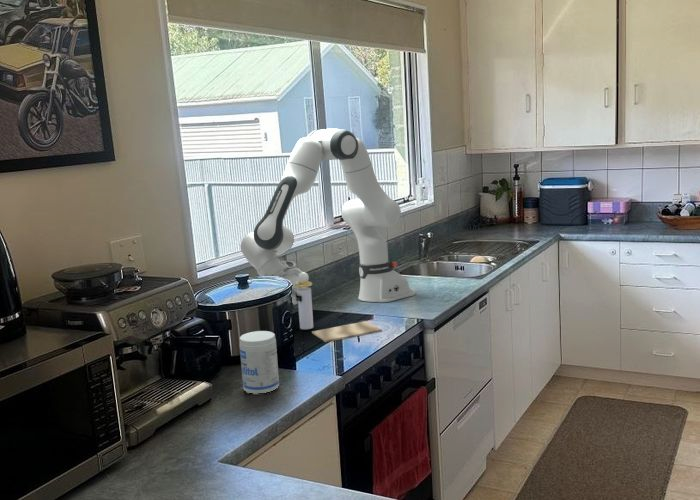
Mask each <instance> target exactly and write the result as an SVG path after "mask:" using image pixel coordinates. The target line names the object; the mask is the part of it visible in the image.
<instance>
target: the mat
mask: <svg viewBox="0 0 700 500" xmlns="http://www.w3.org/2000/svg"><path fill="white" fill-rule="evenodd" d="M382 331H383V329H381V328H380V327H378V326H376V325H374V324H373V323H371V322H369V321H367V320H365V321H364V320H363V321H359V322H356V323H355V322H353V323H349V324H344V325H338V326H334V327H328V328H322V329H318V330H312V331H311V334H312V335H314V336H316V337H317V339H318V338H319V339H320V340H322V342H324V343H330V342H335V341H340V340H344V339H350V338H354V337H355V338H356V337H359V336H364V335H370V334H374V333H378V332H382Z"/></svg>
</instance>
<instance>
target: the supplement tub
mask: <svg viewBox="0 0 700 500" xmlns="http://www.w3.org/2000/svg"><path fill="white" fill-rule="evenodd" d="M277 348H278V347H277V339H276V334H275V333H274V332H272V331H268V330H255V331H251V332H250V331H249V332H247V333H244V334H241V336H239V354H240V366H241V377H242V378H241V379H242V388H243V390H244V392H245V391H246V393H247V394H249V393H253V394H252V395H259V394H258V393H266V392H270V391H273V390H275V389H276V388H277V389H278V388H279V387H278V386H280V379H279V365H278V353H277V351H278V349H277ZM277 389H276V390H277ZM276 390H275V391H276ZM273 392H274V391H273ZM270 393H271V392H270Z"/></svg>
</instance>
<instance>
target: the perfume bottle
mask: <svg viewBox="0 0 700 500" xmlns="http://www.w3.org/2000/svg"><path fill="white" fill-rule="evenodd" d="M309 278H310V276H309V274H308V273H307V272H306V271H301V273H300V274H299V275H298V280H299V282H297V283H295V286H296V287H304V288H299V289H297V292H298V296H297V294H296V301H297V305H298V306H297V307H298V316H299V317H298V319H299V320H298V321H299V329H300V330H311V329H314V315H313V313H314V312H313V302H312V301H313V300H312V299H313V298H312V288H311V286H312V285H313V282H312V281H309ZM297 292H296V293H297Z"/></svg>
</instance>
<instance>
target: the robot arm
mask: <svg viewBox="0 0 700 500" xmlns="http://www.w3.org/2000/svg"><path fill="white" fill-rule="evenodd" d="M324 160H327V161H333V160H339V162H340V166H341V169H342V172H343V176H344V179H345V182H346V185H347V188H348V190H349V191H350V192H351V193H352V194H353V195H355V196H356V197H357V198H352V199H350V200H347V201H346V202H345V203H343V206H342V207H341V208H342V209H341V216H342V219H343V221H344V222H345V223H346V224H347V225H348V226H349V228H350V229H351V230H352V232H353V234H354V236H355V238H356V243H357V247H358V254H359V263H358V273H359V278H360V282H359V283H360V284H359V292H358V293H359V294H358V297H357V298H358V300H359V301H363V302H370V303H374V302H375V303H377V302H379V303H389V302H393V301H397V300H401V299H405V298H408V297H409V298H410V297H412V296H416V292H415V290H414V289H412V288H410V285H409V282H408V279H407V278H406V277H405V276H404V275H402V274H400V273H399V272H397V271H396V270H395V269H394V268H397V267H398V266H399V265H398V263H397V262H396V261H390V260H389V253H388V252H389V251H388V243H387V242H388V241H387V240H386V239H385V238H384V237H383V236H382V235H381V234H380V233H379V231H378V228H382V229H385V228H390V227H394V226H397V224H398V223H399V221H400V220H401V216H402V213H401V212H402V210H401V207H400V205H399V203H398V202H397V201H395V200H394V199H393V198H391V197H390V196H389V195H388V194H387V193H386V192H385V191H384V189H383V188H382V187H381V185H380V183H379V182H378V179H377V176H376V173H375V171H374V168H373V164H372V160H371V157H370V155H369V153H368V150H367V148H366V146H365V144H364V142H363V141H362V139H361V138H359V137H356V135H354V133H353V132H351V131H350V130H347V129H343V128H341V129H339V128H326V129H325V128H324V129H323V128H322V129H321V128H319V129H314V130H312V131H311V132H310V133H308V134H307V136H306V137H305V136H304V137H302V138H299V140H298V141H297V142H296V144H295V146H294V148H293V150H292V152H291V153H290V156H289V158H288V161H287V163H286V166H285V169H284V172H283V174H282V177H281V179H280V181H279V183H278V184H277V187H276V189H275V190H274V193H273V196H272V198H271V201H270V203H269V205H268V207H267V209H266V211H265V214H264V215H263V216H262V218H261V219H260V220H259V221H258V223H256V225H255V227H254V229H253V231H251V232H249V233H248V234H246V235H245V236H244V237H243V238H242V240H241V242H240V251H241V253H242V254H243V256H244V257H245V259H246V260H247V262H248V263H249V264H250V266H251V267H254V269H255V271H256V272H257V274H258V275H259V277H260V276H265V275H269V276H279V277H283V278H285V279H288V280H290V281H291V282H292V285H293V286H292V294H291V297H292V302H291V303H292V304H293V306H295V305H298V303H297V301H296V294H297V296H298V292H297V289H299V288H304V287H296V286H295V283H297V282H299V280H298V275H299V274H300V273H301V272H302V270H301V269H300V268H298V267H296V266H297V265H296V263H295V262H294V261H292V260H291V261H289V260H284V259H280V258H279V257H280V256H282V255H283V254H285V253H287V252H288V251H289V250H291V248H292V246H293V245H294V241H295V237H294V234H293V231H292V230H291V229H290V228H289V227H287V226H285V225H284V219H285V218H286V215H287V213H288V210H289V207H290V205H291V203H292V201H293V200H294V198H295V197H297V196H298V195H302V194H305V193H307V192H309V191H310V190H311V189H312V188H313V186H314V184H315V182H316V178H317V177H318V173H319V170H320V167H321V163H323V161H324ZM296 292H297V293H296Z"/></svg>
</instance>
